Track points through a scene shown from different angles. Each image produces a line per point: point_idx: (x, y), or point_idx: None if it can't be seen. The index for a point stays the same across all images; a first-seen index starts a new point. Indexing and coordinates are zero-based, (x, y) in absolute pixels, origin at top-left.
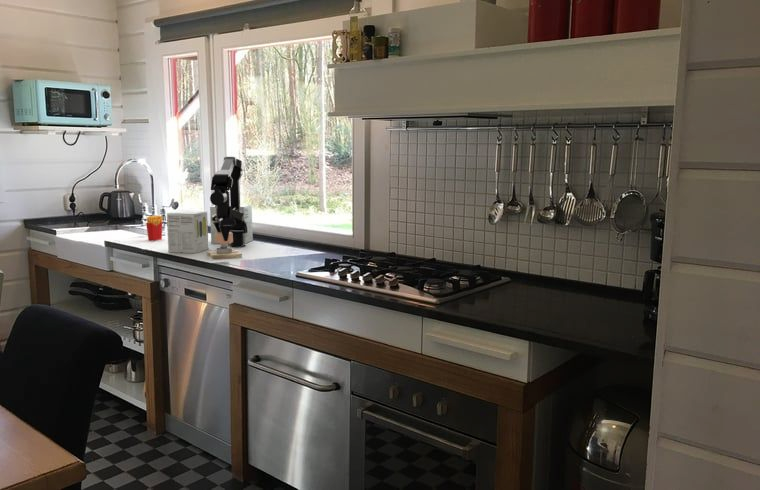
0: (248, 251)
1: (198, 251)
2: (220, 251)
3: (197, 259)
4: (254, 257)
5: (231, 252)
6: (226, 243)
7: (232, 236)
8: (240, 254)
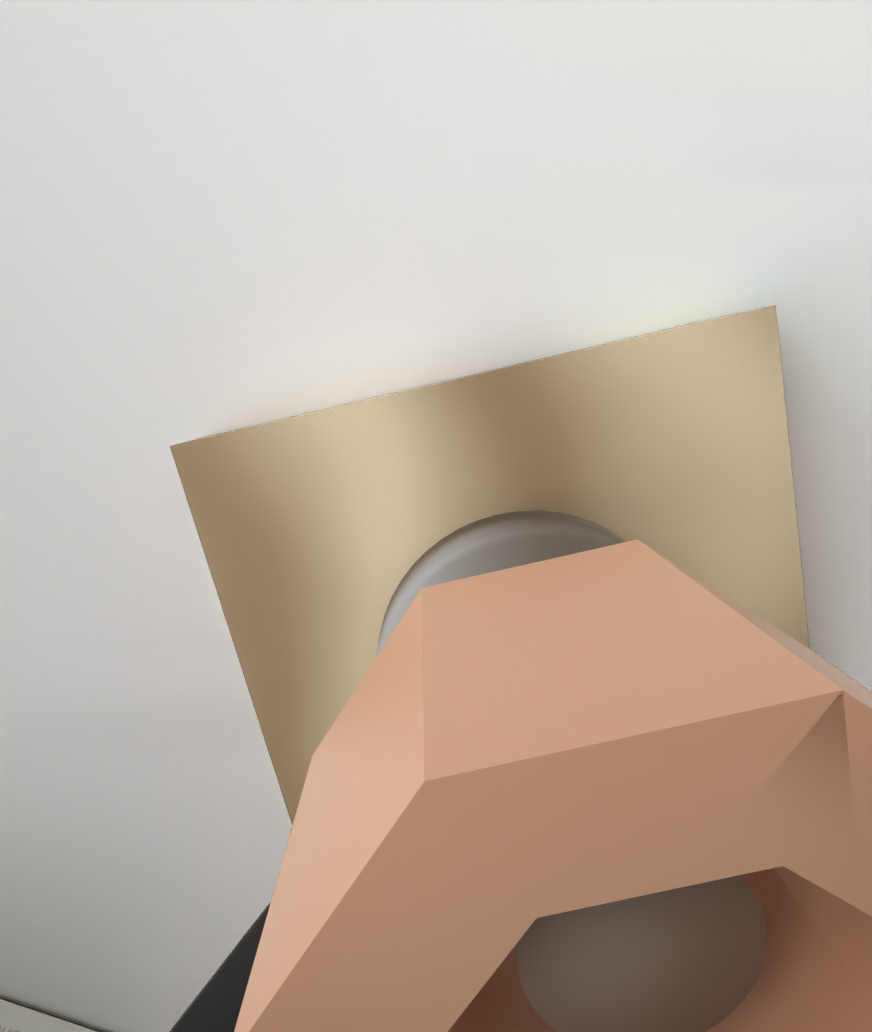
0: (16, 133)
1: (47, 1024)
2: None
3: None
4: (834, 39)
5: (585, 521)
6: None
7: (760, 624)
8: (769, 336)
